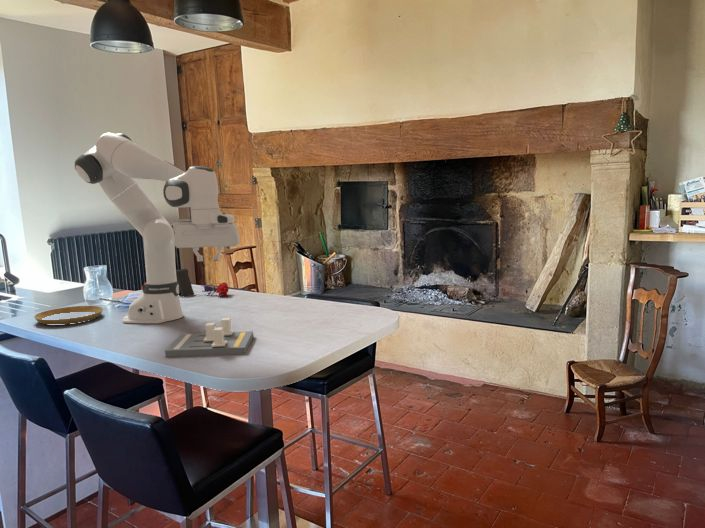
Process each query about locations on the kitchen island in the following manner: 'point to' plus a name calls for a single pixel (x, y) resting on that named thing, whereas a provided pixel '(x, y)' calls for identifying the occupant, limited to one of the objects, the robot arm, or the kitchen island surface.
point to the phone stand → (184, 282)
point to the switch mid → (209, 332)
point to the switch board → (209, 345)
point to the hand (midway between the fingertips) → (208, 261)
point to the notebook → (121, 293)
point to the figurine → (217, 289)
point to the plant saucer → (67, 310)
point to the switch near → (218, 337)
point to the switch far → (227, 326)
